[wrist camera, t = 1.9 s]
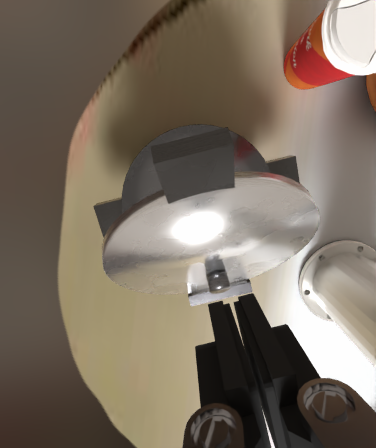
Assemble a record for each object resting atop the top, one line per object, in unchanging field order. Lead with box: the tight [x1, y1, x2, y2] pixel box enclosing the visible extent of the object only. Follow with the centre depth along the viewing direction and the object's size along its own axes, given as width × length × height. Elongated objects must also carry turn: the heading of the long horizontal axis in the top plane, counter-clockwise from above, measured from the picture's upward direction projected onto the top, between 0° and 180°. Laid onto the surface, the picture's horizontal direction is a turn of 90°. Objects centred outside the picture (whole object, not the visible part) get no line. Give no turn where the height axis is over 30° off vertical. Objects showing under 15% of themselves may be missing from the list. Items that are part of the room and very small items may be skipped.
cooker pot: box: [94, 125, 300, 306], centre depth 36 cm, size 22×19×10 cm
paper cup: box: [284, 0, 376, 89], centre depth 31 cm, size 8×8×14 cm
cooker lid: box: [102, 127, 320, 295], centre depth 24 cm, size 18×21×3 cm
